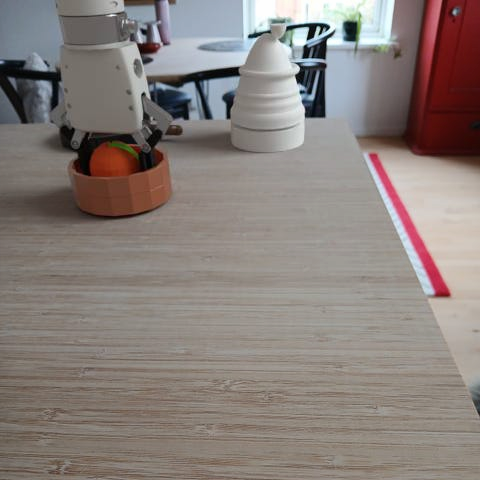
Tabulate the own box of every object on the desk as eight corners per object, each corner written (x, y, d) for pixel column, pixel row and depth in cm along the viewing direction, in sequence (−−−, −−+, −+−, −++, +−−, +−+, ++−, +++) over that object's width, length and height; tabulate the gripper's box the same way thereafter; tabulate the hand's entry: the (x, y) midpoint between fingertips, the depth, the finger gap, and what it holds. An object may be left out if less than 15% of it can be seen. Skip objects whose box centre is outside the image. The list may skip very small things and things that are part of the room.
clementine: (160, 187, 73) (154, 137, 69) (131, 206, 68) (123, 153, 64) (115, 179, 76) (106, 130, 71) (84, 197, 71) (73, 145, 67)
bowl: (59, 215, 68) (49, 175, 65) (102, 178, 79) (95, 142, 75) (152, 222, 66) (146, 181, 62) (184, 183, 76) (180, 146, 73)
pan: (45, 150, 91) (41, 134, 89) (87, 123, 103) (84, 109, 102) (168, 155, 86) (166, 139, 84) (196, 127, 99) (195, 112, 97)
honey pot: (316, 135, 92) (322, 20, 81) (280, 157, 84) (282, 31, 73) (255, 126, 98) (254, 17, 87) (216, 145, 90) (209, 27, 79)
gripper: (176, 26, 61) (188, 170, 72) (45, 26, 65) (75, 163, 75) (153, 36, 55) (170, 191, 66) (10, 35, 59) (48, 182, 69)
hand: (119, 175), depth 70 cm, fingers closed on clementine, 8 cm apart
